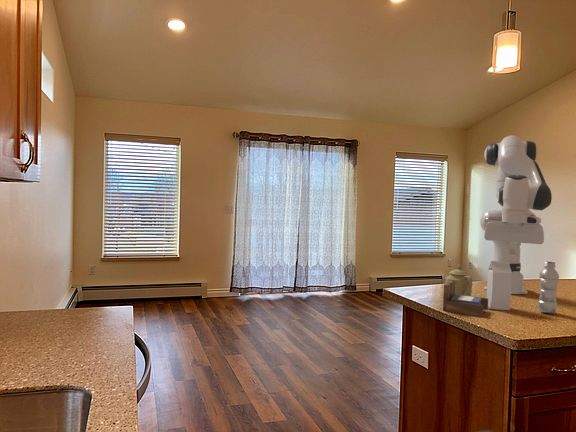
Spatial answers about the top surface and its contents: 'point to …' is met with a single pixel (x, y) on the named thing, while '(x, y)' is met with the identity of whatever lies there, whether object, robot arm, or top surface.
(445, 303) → the stand
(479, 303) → the navy carton
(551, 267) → the plastic bottle
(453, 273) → the sugar bowl
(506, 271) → the milk carton
